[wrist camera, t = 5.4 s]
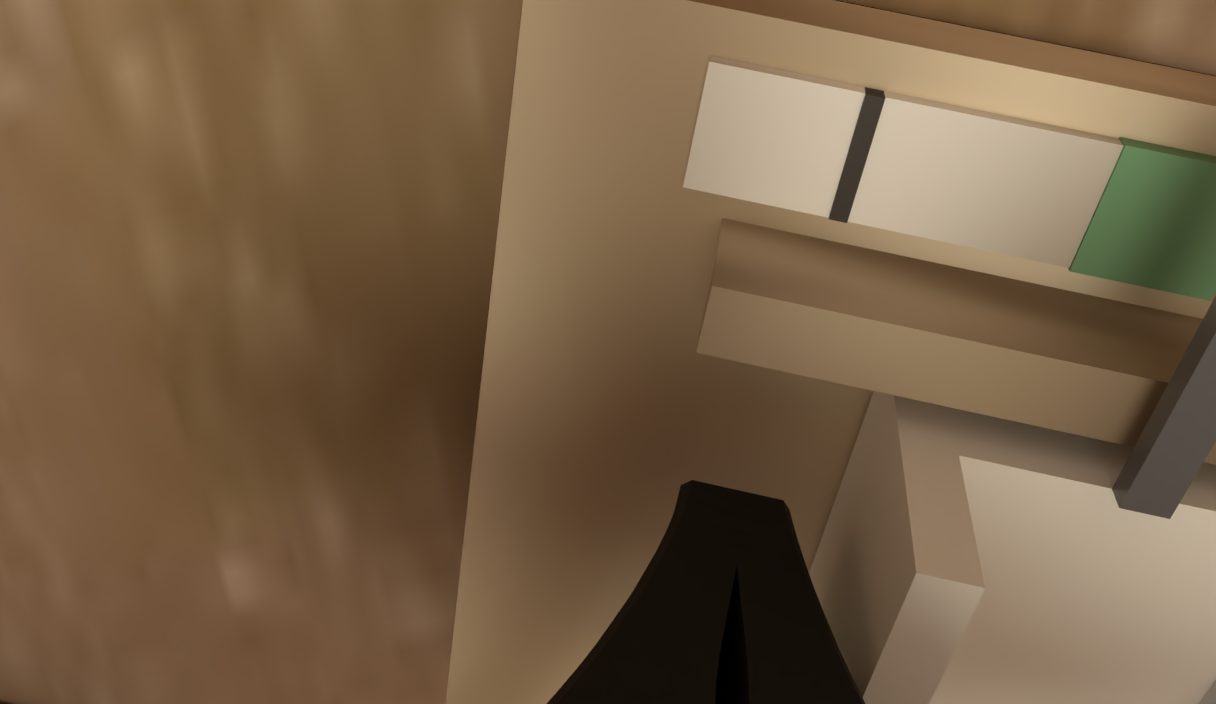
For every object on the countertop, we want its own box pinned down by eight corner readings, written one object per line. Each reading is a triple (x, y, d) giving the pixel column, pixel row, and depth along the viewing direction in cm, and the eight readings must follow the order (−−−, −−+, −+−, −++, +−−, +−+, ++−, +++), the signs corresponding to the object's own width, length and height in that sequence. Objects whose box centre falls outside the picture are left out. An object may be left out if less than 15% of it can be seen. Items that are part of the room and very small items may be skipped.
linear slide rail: (462, 668, 18) (328, 1058, 13) (550, -57, 12) (352, 149, 7) (1348, 874, 18) (1573, 1369, 13) (1955, 224, 11) (2951, 694, 6)
